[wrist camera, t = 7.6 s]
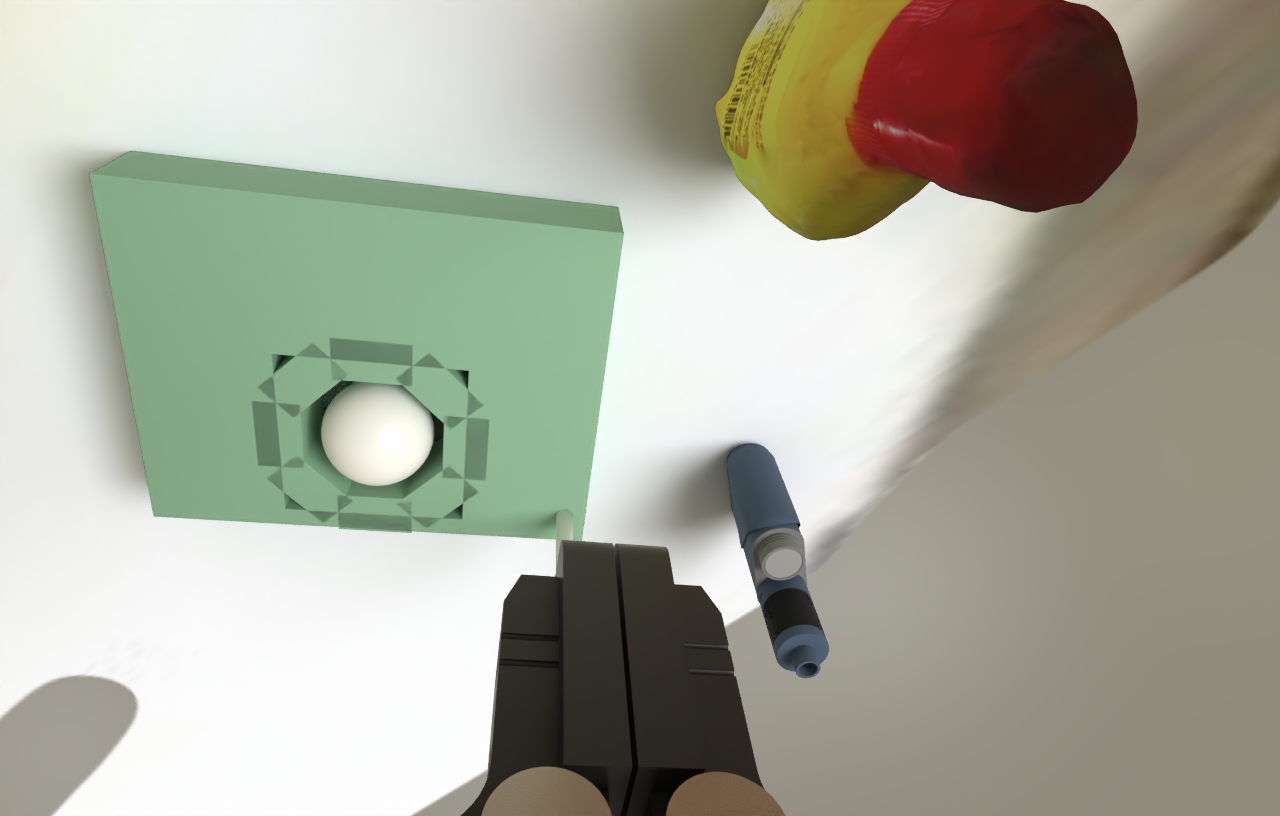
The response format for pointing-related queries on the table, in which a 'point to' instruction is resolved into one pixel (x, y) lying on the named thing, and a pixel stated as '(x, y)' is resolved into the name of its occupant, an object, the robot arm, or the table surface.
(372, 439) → the ball
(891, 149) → the bottle
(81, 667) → the table surface
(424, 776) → the table surface
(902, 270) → the table surface
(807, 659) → the vaping device
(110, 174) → the green
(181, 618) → the table surface
